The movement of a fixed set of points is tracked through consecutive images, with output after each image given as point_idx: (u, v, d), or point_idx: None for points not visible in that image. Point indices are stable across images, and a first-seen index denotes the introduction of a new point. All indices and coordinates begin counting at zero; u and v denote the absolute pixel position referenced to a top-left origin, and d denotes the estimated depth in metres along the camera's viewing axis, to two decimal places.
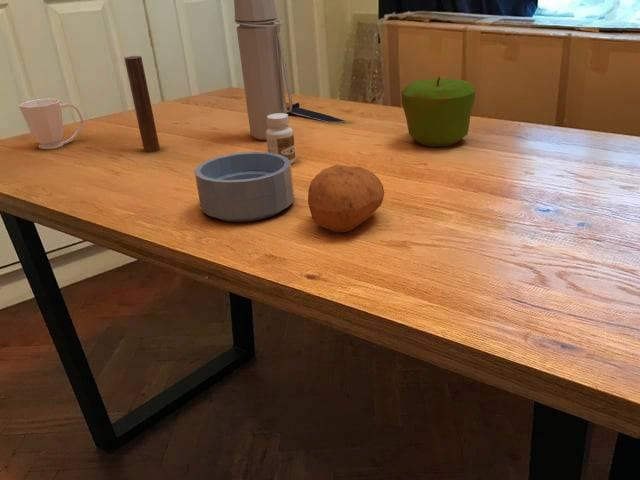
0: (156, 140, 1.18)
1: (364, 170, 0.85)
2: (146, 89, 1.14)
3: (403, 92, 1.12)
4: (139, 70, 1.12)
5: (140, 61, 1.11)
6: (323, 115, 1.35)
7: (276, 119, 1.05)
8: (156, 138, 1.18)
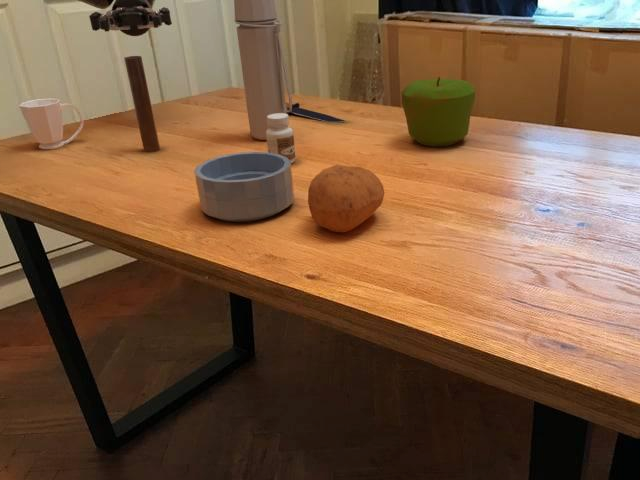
0: (156, 140, 1.18)
1: (364, 170, 0.85)
2: (146, 89, 1.14)
3: (403, 92, 1.12)
4: (139, 70, 1.12)
5: (140, 61, 1.11)
6: (323, 115, 1.35)
7: (276, 119, 1.05)
8: (156, 138, 1.18)
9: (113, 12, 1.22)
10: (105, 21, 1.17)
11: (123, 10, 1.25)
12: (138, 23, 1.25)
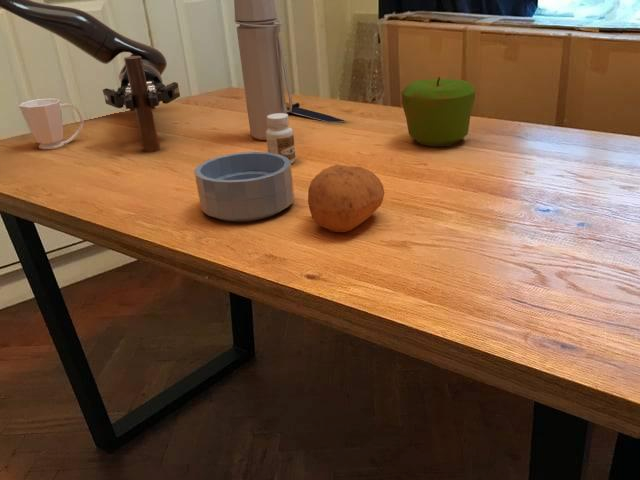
0: (156, 140, 1.18)
1: (364, 170, 0.85)
2: (146, 89, 1.14)
3: (403, 92, 1.12)
4: (139, 70, 1.12)
5: (140, 60, 1.11)
6: (323, 115, 1.35)
7: (276, 119, 1.05)
8: (156, 138, 1.18)
9: None
10: (131, 101, 1.12)
11: None
12: None
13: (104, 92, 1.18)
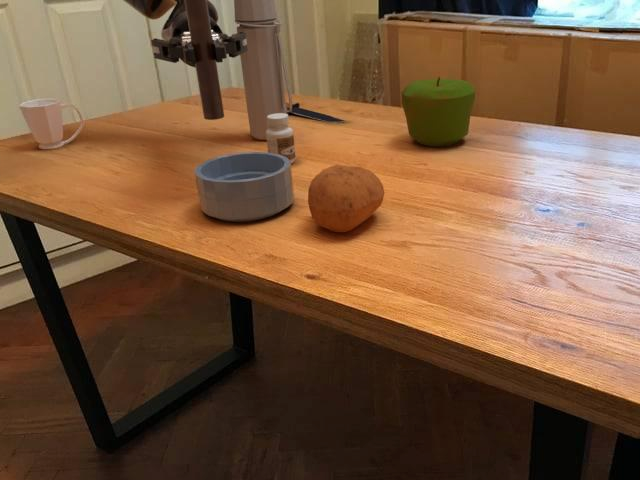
0: (220, 104, 0.92)
1: (364, 170, 0.85)
2: (210, 36, 0.87)
3: (403, 92, 1.12)
4: (202, 11, 0.85)
5: None
6: (323, 115, 1.35)
7: (276, 119, 1.05)
8: (220, 102, 0.92)
9: None
10: (192, 51, 0.85)
11: None
12: None
13: (153, 43, 0.91)
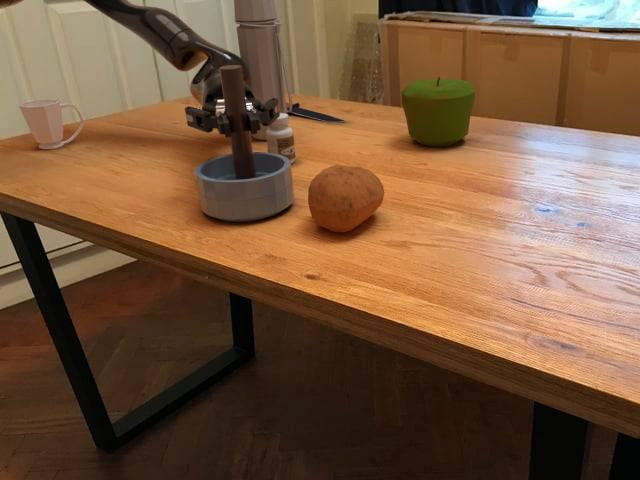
0: (253, 173, 0.91)
1: (364, 170, 0.85)
2: (245, 108, 0.87)
3: (403, 92, 1.12)
4: (238, 84, 0.85)
5: (240, 71, 0.85)
6: (323, 115, 1.34)
7: (276, 119, 1.05)
8: (253, 171, 0.91)
9: None
10: (227, 124, 0.85)
11: (223, 102, 0.93)
12: None
13: (187, 111, 0.91)
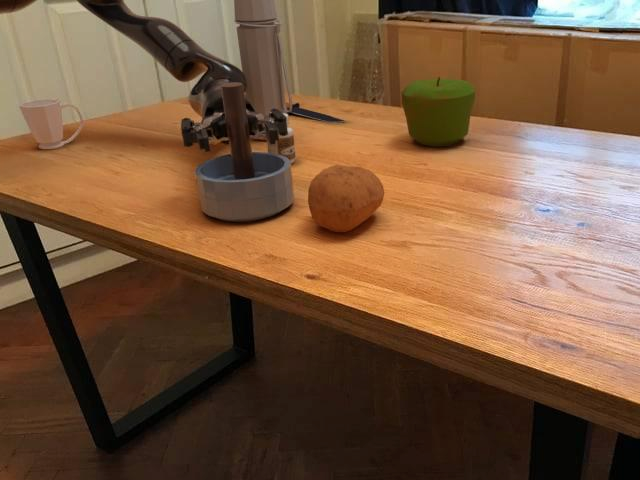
0: None
1: (364, 170, 0.85)
2: (247, 125, 0.87)
3: (403, 92, 1.12)
4: (240, 102, 0.85)
5: (242, 89, 0.85)
6: (323, 115, 1.34)
7: None
8: None
9: (212, 121, 0.90)
10: (207, 139, 0.85)
11: (223, 116, 0.92)
12: None
13: None
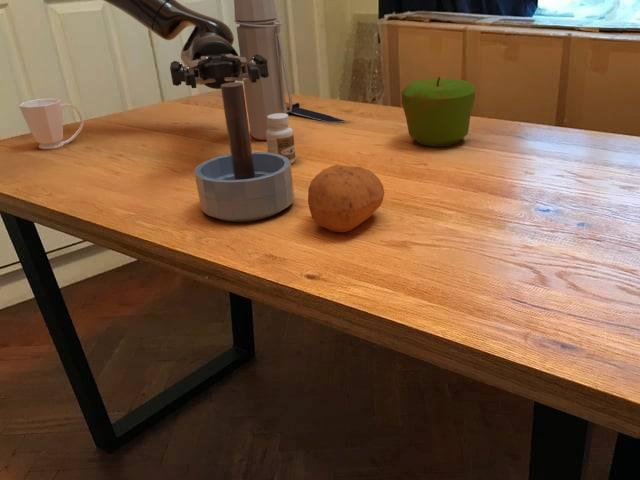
0: None
1: (364, 170, 0.85)
2: (247, 125, 0.87)
3: (403, 92, 1.12)
4: (240, 102, 0.85)
5: (242, 89, 0.85)
6: (323, 115, 1.34)
7: (276, 119, 1.05)
8: None
9: (199, 62, 0.98)
10: (193, 76, 0.93)
11: (209, 59, 1.00)
12: (228, 75, 1.00)
13: None
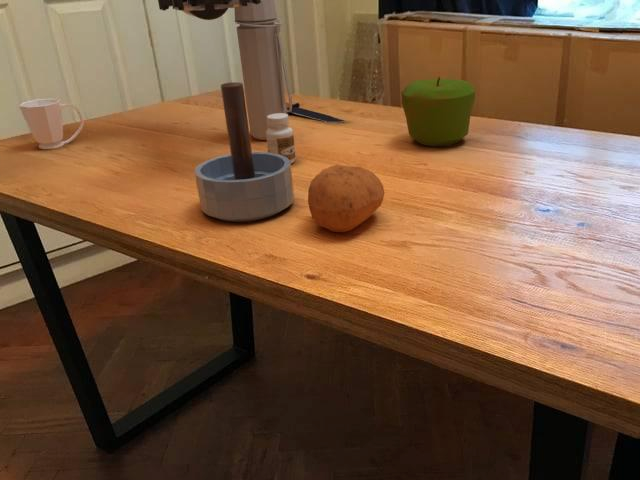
0: None
1: (364, 170, 0.85)
2: (247, 125, 0.87)
3: (403, 92, 1.12)
4: (240, 102, 0.85)
5: (242, 89, 0.85)
6: (323, 115, 1.34)
7: (276, 119, 1.05)
8: None
9: None
10: None
11: None
12: (217, 1, 0.95)
13: None
